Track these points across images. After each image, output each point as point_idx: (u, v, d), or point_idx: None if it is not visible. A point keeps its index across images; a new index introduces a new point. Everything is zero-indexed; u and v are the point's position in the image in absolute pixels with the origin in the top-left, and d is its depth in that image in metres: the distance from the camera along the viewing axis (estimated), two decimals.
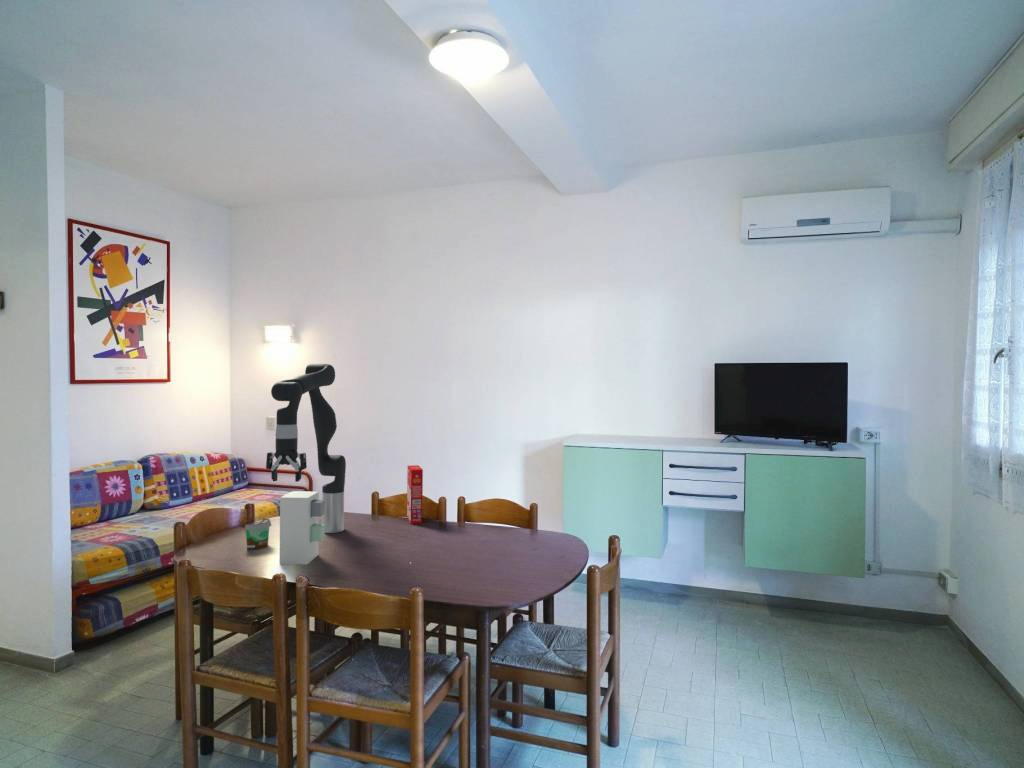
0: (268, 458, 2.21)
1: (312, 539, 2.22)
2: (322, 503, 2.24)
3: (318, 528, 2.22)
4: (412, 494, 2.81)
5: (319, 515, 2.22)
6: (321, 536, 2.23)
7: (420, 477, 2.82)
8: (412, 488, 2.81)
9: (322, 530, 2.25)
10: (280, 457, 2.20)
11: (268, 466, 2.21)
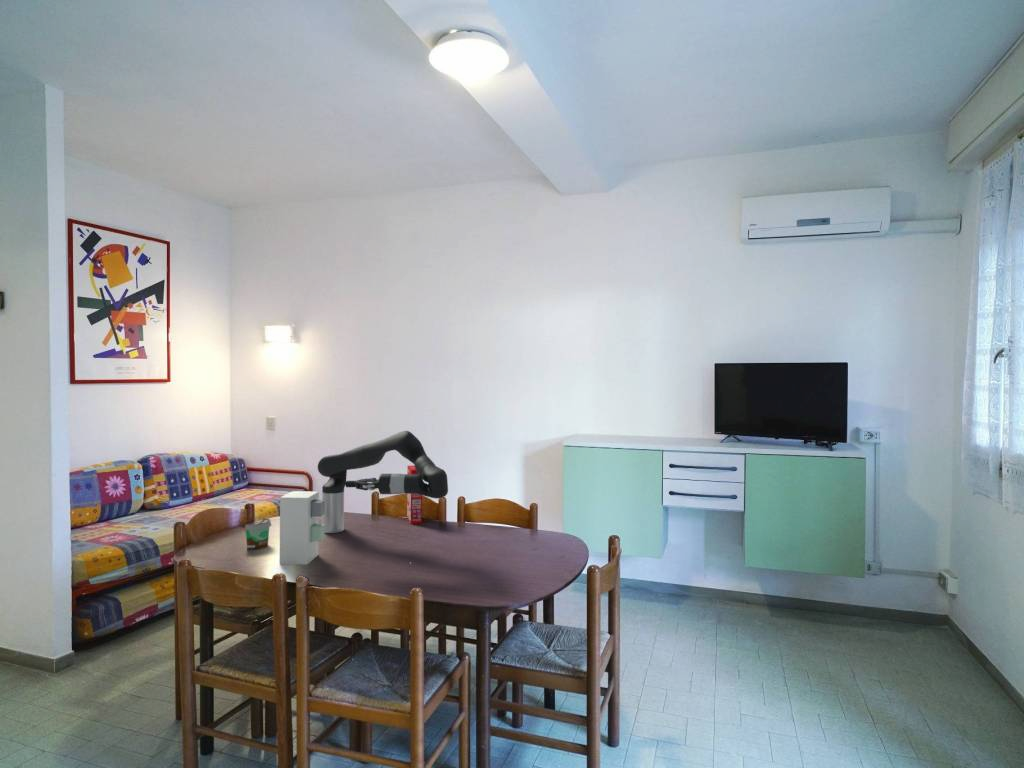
0: None
1: (312, 539, 2.22)
2: (322, 503, 2.24)
3: (318, 528, 2.22)
4: (412, 494, 2.81)
5: (319, 515, 2.22)
6: (321, 536, 2.23)
7: None
8: None
9: (322, 530, 2.25)
10: None
11: None
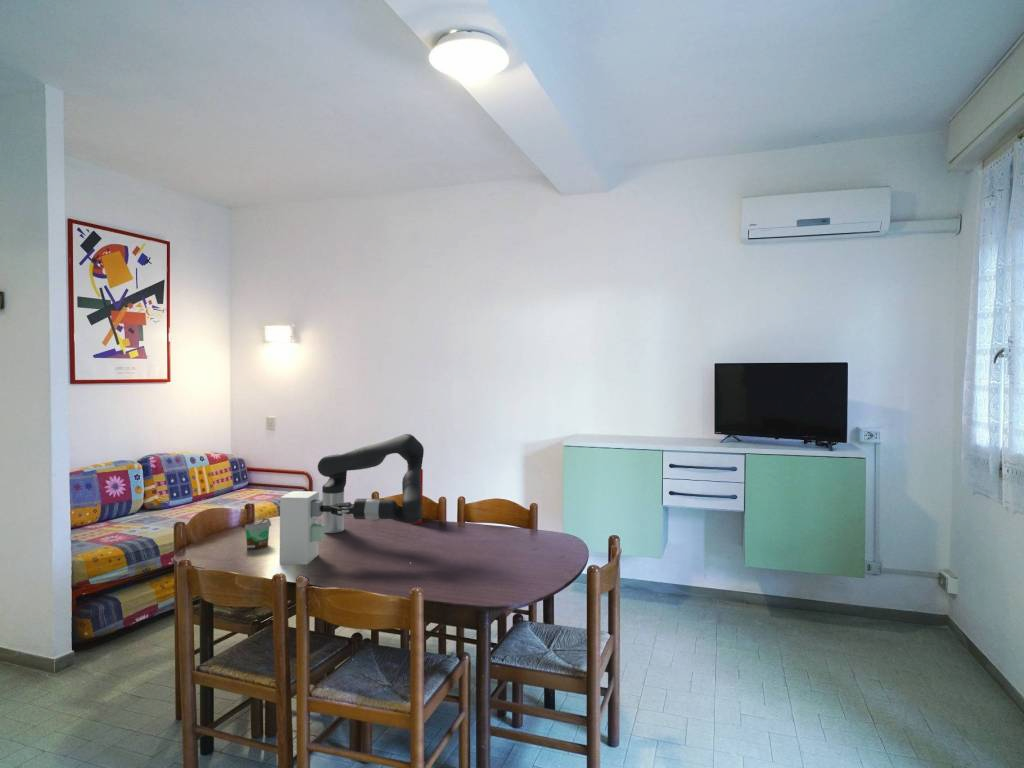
0: None
1: (312, 539, 2.22)
2: (320, 503, 2.24)
3: (318, 528, 2.22)
4: None
5: (317, 515, 2.22)
6: (321, 536, 2.23)
7: None
8: None
9: (322, 530, 2.25)
10: None
11: None
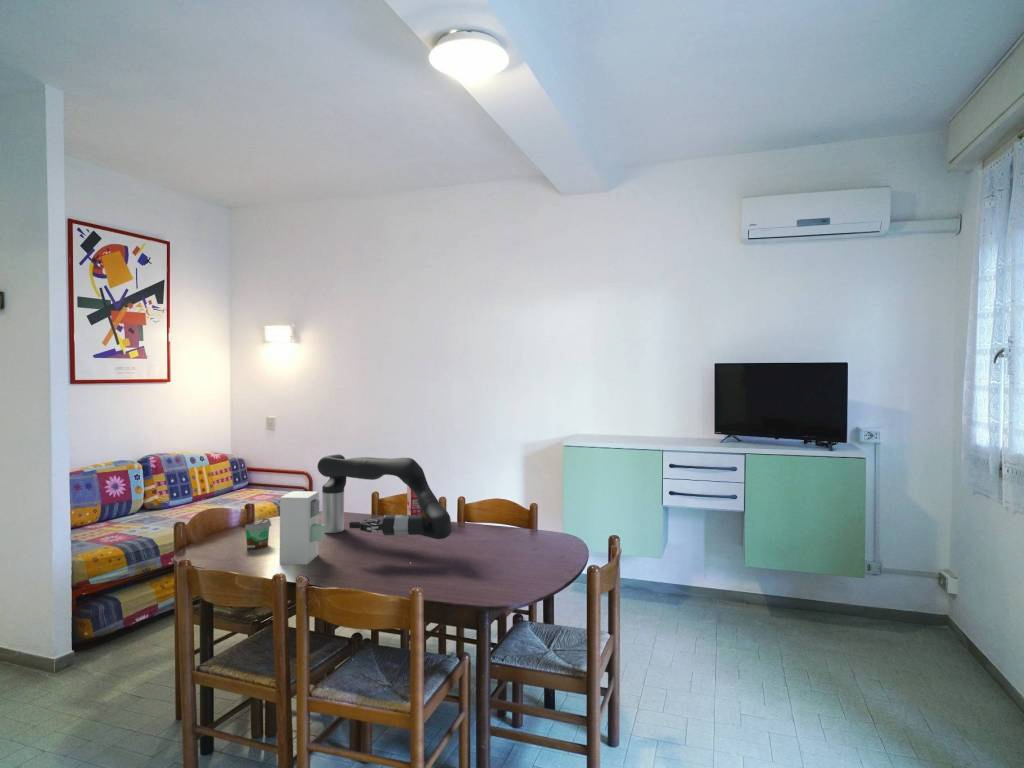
0: None
1: (312, 539, 2.22)
2: (316, 503, 2.24)
3: (318, 528, 2.22)
4: (412, 494, 2.81)
5: (313, 514, 2.22)
6: (321, 536, 2.23)
7: None
8: None
9: (322, 530, 2.25)
10: None
11: None
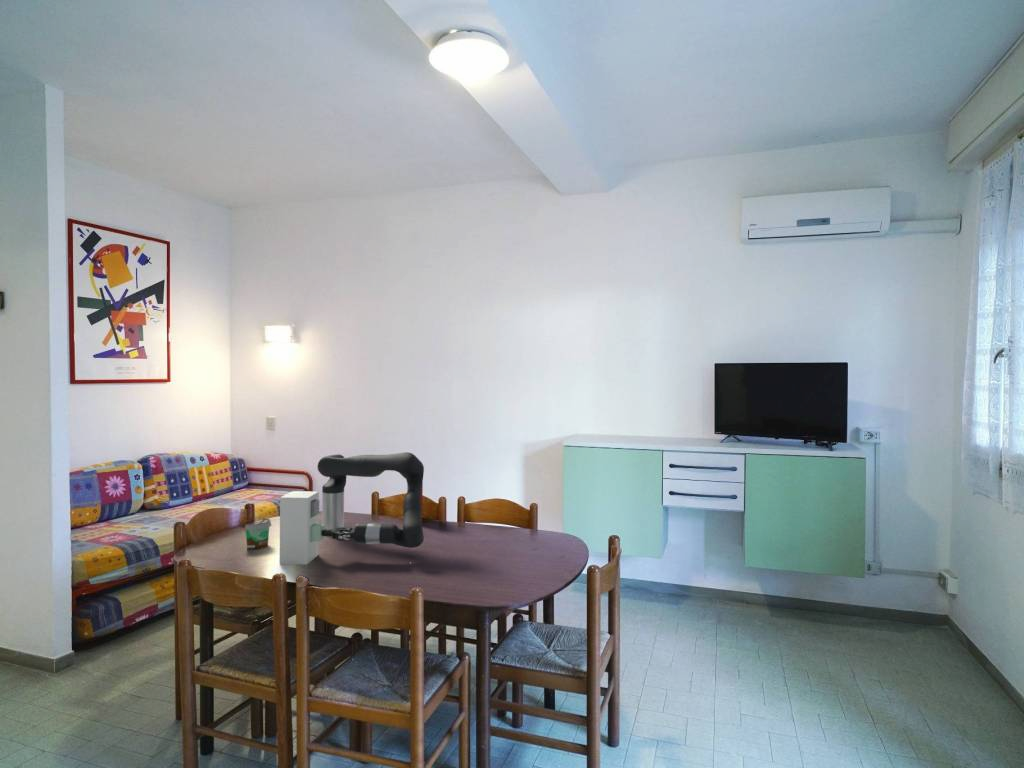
0: None
1: (312, 539, 2.22)
2: (316, 503, 2.24)
3: (318, 528, 2.22)
4: None
5: (313, 514, 2.22)
6: (320, 536, 2.23)
7: None
8: None
9: None
10: None
11: None
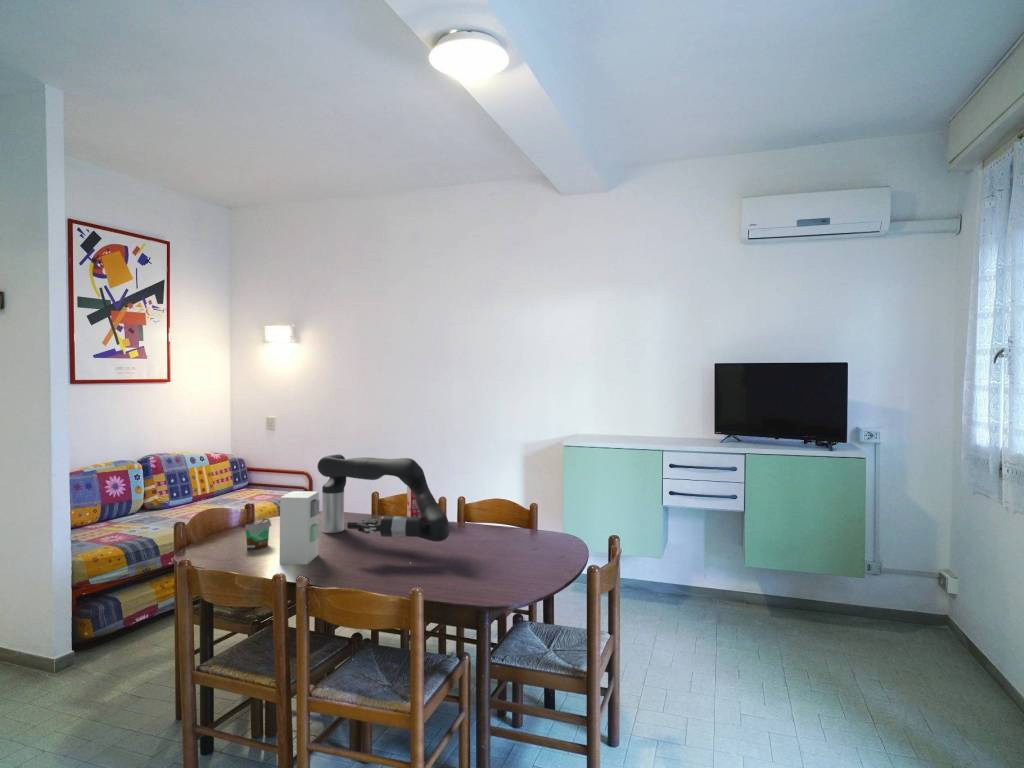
0: None
1: None
2: (316, 503, 2.24)
3: (312, 528, 2.22)
4: (412, 494, 2.81)
5: (313, 514, 2.22)
6: (315, 536, 2.23)
7: None
8: None
9: (316, 530, 2.25)
10: None
11: None
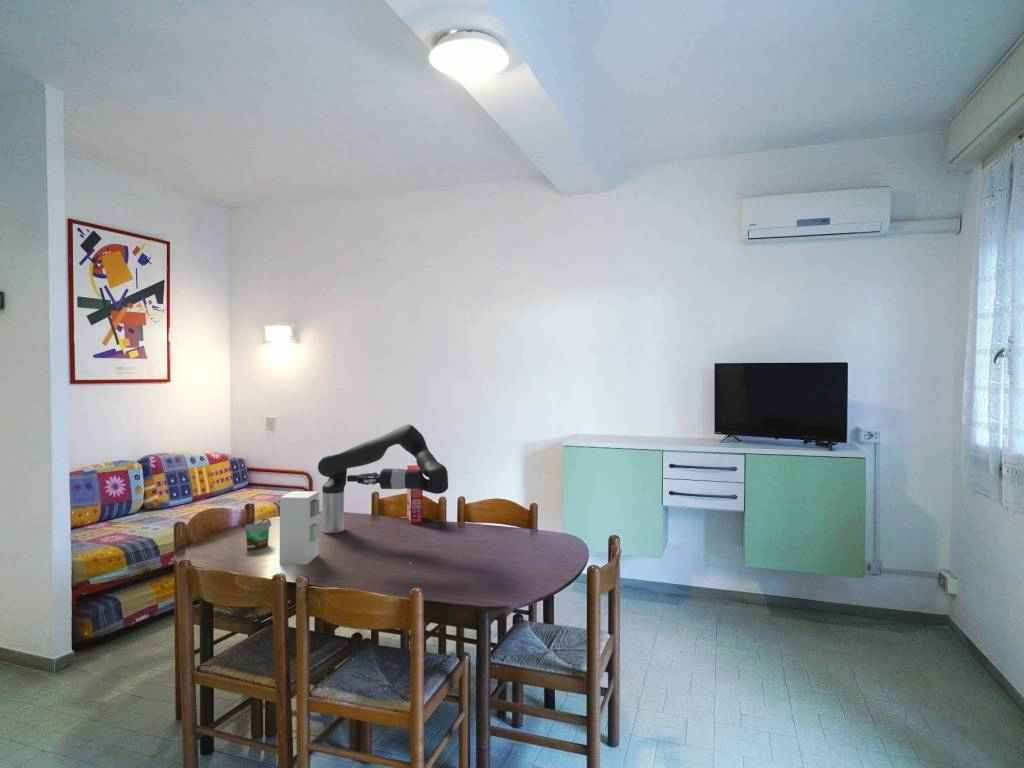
0: (365, 483, 2.21)
1: None
2: (316, 503, 2.24)
3: (312, 528, 2.22)
4: (412, 494, 2.81)
5: (313, 514, 2.22)
6: (315, 536, 2.23)
7: None
8: None
9: (316, 530, 2.25)
10: None
11: None
